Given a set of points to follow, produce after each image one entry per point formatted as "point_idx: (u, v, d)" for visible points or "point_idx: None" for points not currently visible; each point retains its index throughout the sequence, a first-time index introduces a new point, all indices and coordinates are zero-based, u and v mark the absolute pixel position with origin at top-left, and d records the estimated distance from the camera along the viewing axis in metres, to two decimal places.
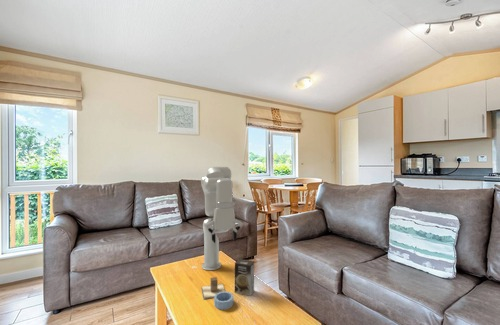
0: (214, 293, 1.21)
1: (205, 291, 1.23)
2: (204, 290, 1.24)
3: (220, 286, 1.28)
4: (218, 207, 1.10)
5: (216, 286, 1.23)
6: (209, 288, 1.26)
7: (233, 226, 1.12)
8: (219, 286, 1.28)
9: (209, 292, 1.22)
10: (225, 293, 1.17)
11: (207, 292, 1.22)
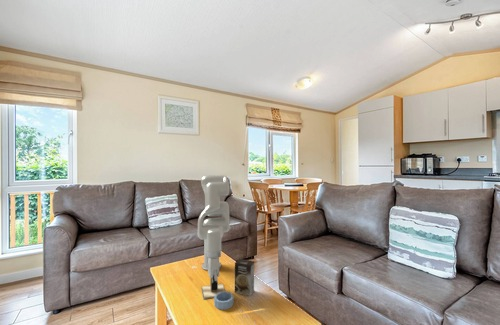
0: (214, 293, 1.21)
1: (205, 291, 1.23)
2: (204, 290, 1.24)
3: (220, 286, 1.28)
4: (218, 255, 1.22)
5: None
6: (209, 288, 1.26)
7: None
8: (219, 286, 1.28)
9: (209, 292, 1.22)
10: (225, 293, 1.17)
11: (207, 292, 1.22)
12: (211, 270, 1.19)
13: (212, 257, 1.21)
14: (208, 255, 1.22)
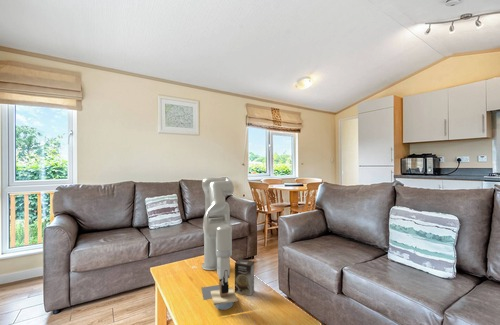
0: (224, 298, 1.11)
1: (214, 296, 1.13)
2: (213, 295, 1.13)
3: (230, 290, 1.18)
4: (229, 255, 1.11)
5: None
6: (218, 293, 1.15)
7: None
8: (229, 290, 1.17)
9: (218, 297, 1.11)
10: None
11: (217, 297, 1.12)
12: (221, 271, 1.08)
13: (222, 256, 1.10)
14: (218, 254, 1.11)
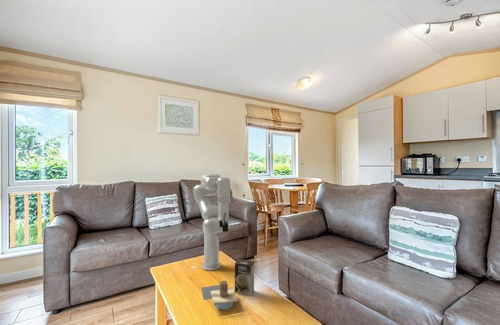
0: (224, 298, 1.11)
1: (214, 296, 1.13)
2: (213, 295, 1.13)
3: (230, 290, 1.18)
4: (228, 201, 1.33)
5: (226, 291, 1.12)
6: (218, 293, 1.15)
7: None
8: (229, 290, 1.17)
9: (218, 297, 1.11)
10: None
11: (217, 297, 1.12)
12: (221, 213, 1.31)
13: (222, 202, 1.32)
14: (218, 200, 1.33)
